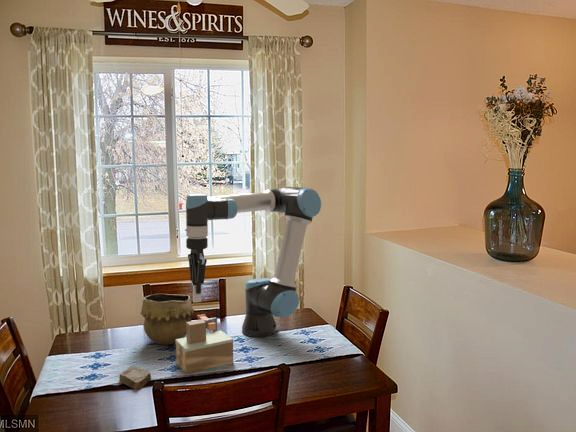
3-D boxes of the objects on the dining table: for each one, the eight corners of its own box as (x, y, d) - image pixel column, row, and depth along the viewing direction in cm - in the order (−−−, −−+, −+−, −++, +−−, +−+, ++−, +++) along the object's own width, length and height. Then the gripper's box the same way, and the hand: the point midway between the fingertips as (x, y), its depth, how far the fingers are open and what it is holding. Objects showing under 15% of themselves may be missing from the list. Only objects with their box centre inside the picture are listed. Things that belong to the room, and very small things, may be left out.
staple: (202, 351, 192) (201, 319, 191) (216, 348, 195) (215, 317, 194) (204, 353, 191) (203, 320, 189) (217, 350, 194) (216, 318, 192)
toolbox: (176, 362, 182) (175, 342, 181) (221, 352, 191) (220, 332, 190) (186, 373, 173) (185, 351, 172) (233, 362, 182) (233, 341, 181)
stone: (113, 378, 170) (112, 370, 170) (134, 370, 176) (134, 362, 176) (136, 391, 160) (136, 382, 160) (158, 383, 166) (158, 374, 166)
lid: (175, 342, 181) (174, 320, 180) (220, 332, 190) (220, 312, 189) (185, 351, 172) (185, 329, 171) (233, 341, 181) (232, 320, 180)
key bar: (197, 323, 199) (197, 315, 198) (204, 321, 200) (204, 314, 200) (208, 331, 189) (208, 323, 188) (216, 330, 190) (216, 322, 190)
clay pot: (161, 331, 215) (159, 286, 213) (204, 337, 208) (202, 290, 206) (130, 348, 196) (128, 299, 194) (177, 355, 189) (175, 304, 187)
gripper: (180, 235, 180) (181, 298, 182) (193, 240, 169) (193, 307, 171) (200, 234, 184) (200, 296, 186) (213, 239, 173) (213, 304, 175)
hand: (197, 301), depth 179 cm, fingers closed
